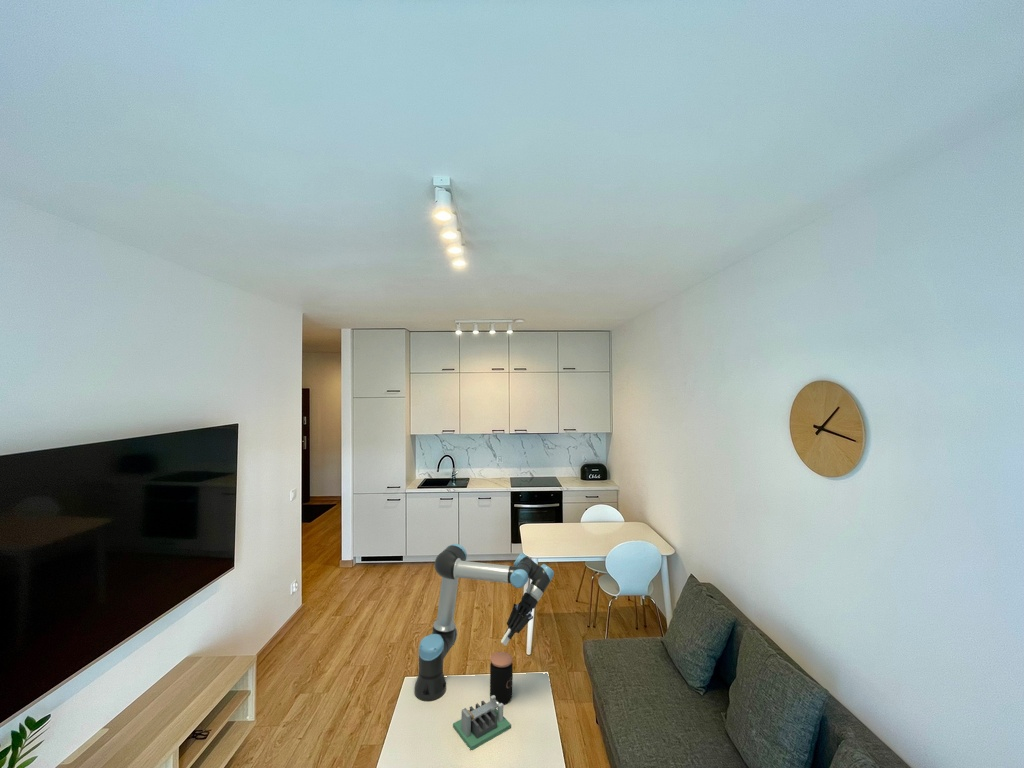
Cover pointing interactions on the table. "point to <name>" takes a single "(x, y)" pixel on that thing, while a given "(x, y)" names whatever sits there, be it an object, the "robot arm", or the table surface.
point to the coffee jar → (501, 677)
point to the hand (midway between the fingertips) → (503, 643)
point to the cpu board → (481, 726)
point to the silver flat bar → (484, 709)
